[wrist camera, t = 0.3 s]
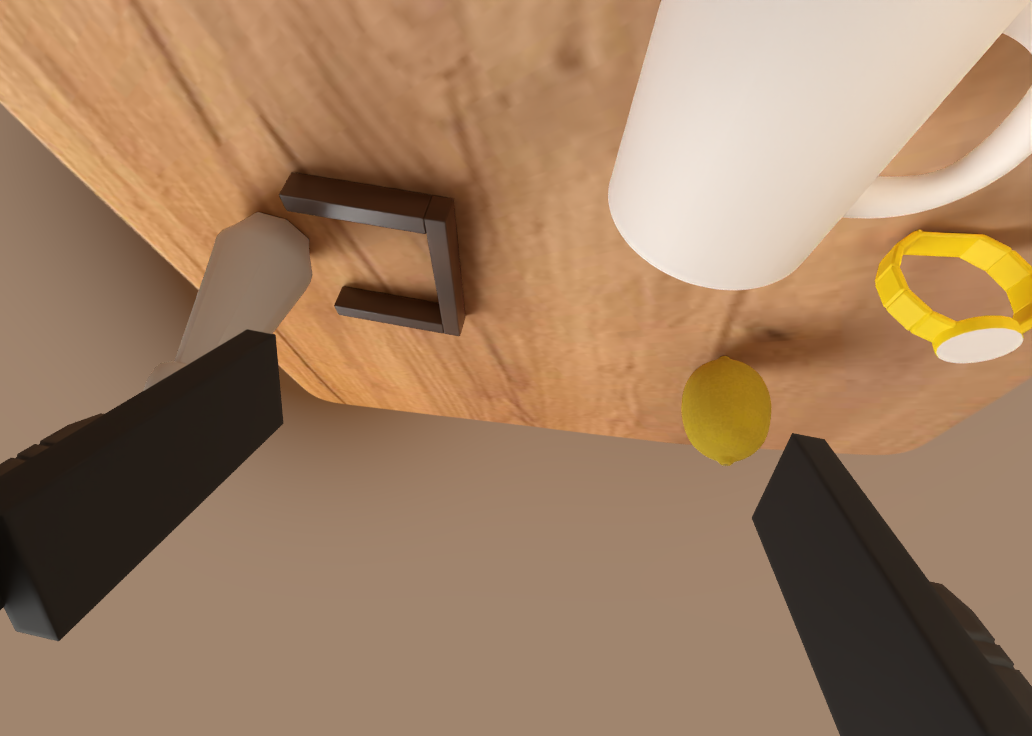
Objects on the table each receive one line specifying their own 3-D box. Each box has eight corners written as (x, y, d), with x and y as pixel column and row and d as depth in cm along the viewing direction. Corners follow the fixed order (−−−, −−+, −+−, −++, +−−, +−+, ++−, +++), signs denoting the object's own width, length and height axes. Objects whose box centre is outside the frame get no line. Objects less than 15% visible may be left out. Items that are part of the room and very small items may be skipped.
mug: (616, 128, 22) (596, 270, 18) (708, -218, 13) (707, -83, 9) (894, 177, 21) (934, 333, 17) (1190, -147, 12) (1400, 27, 9)
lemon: (668, 362, 37) (663, 464, 33) (713, 326, 32) (713, 440, 29) (733, 383, 38) (736, 485, 34) (786, 350, 33) (796, 465, 29)
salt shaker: (219, 190, 30) (93, 379, 24) (314, 215, 30) (214, 408, 24) (249, 253, 35) (151, 422, 29) (329, 274, 35) (250, 445, 29)
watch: (857, 253, 25) (876, 354, 22) (891, 211, 23) (917, 319, 20) (989, 267, 24) (1025, 373, 21) (1039, 225, 22) (1087, 339, 19)
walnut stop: (291, 171, 27) (277, 194, 26) (453, 198, 27) (445, 222, 26) (346, 295, 37) (338, 314, 37) (465, 316, 37) (460, 336, 36)
